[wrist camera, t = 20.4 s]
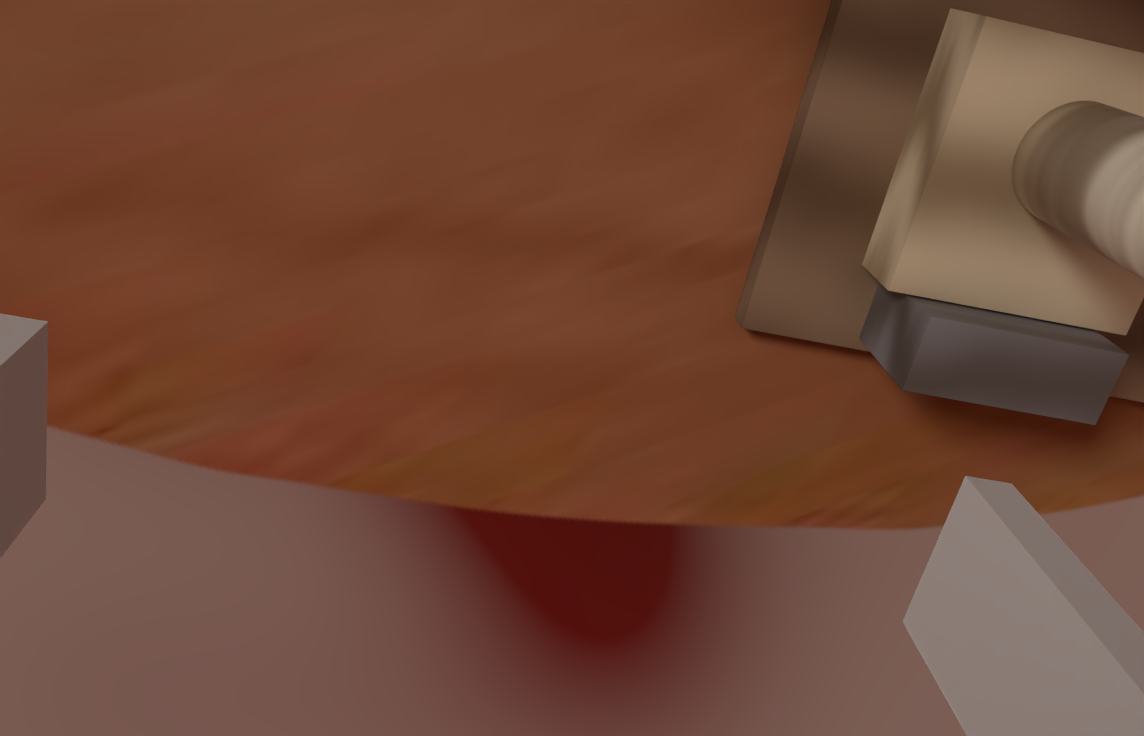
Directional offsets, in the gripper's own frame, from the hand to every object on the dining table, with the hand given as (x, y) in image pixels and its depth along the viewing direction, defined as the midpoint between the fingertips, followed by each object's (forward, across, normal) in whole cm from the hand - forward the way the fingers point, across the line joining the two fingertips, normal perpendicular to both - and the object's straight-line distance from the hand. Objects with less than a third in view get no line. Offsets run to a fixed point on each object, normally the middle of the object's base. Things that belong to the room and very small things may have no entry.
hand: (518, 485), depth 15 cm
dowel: (+22, +20, +4) cm, 30 cm away
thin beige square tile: (+26, +20, +3) cm, 33 cm away
